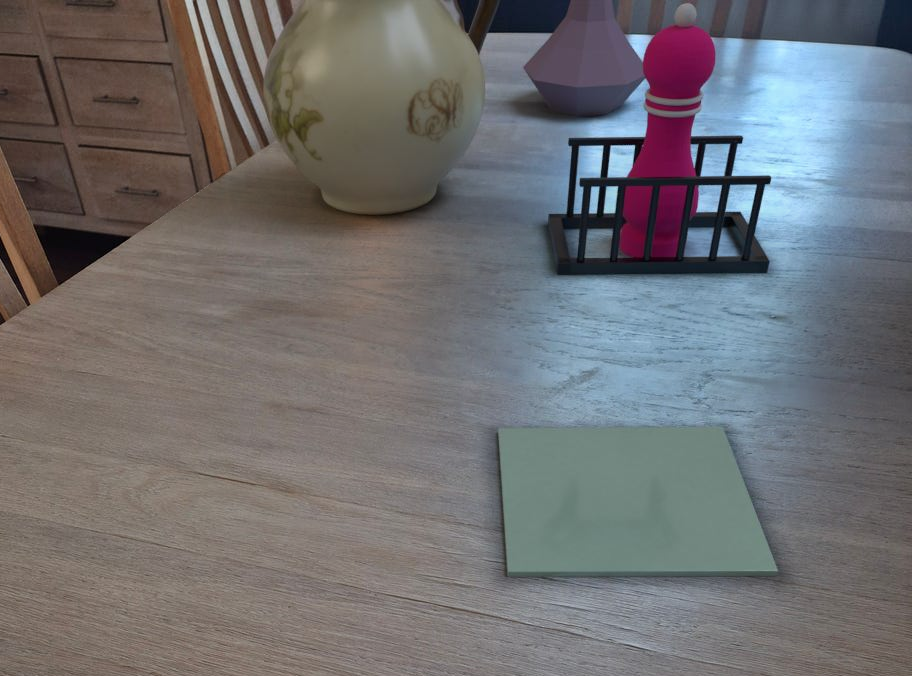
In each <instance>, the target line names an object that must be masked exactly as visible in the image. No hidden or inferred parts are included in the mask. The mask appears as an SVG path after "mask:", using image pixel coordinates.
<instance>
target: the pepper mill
mask: <svg viewBox="0 0 912 676" xmlns="http://www.w3.org/2000/svg"><path fill="white" fill-rule="evenodd" d="M697 13H698V12H697V9H696V7H695V6H694V4H692V3H689V2H685V3H682V4H680V5H679V6H678V7H677V8H676V10H675V12H674V18H673V19H674V23H675V24H672V25H669V26H667V27H664V28H663V29H660V30H659V31H657V32H656V33H655V34H654V36H652V38H651V39H650V40H649V42H648V44H647V46H646V47H645V51H644V55H643V58H642V62H643V74H644V76H645V80H646V82H647V83H648V86H649V88H647V89H646V90H645V92H644V97H645V99H644V102H643V109H644V111H645V112H647V116H646V130H645V136H644V137H645V140H644V143H643V145H642V149H641V152H640V154H639V156H638V158H637V160H636V162H635V163H634V165H633V164H632V166H633V167H632V166H631V169H630V170H629V171H628V174H627V175H626V177H686V176H696V173H695V169H694V168H695V164H694V160H693V157H692V147H691V143H690V142H691V136H692V131H693V125H694V122H695V119H696V115H697V114H698V113H700V112H701V111H702V108H703V107H702V100H703V99H704V92H703V91H702V90H701V89H702V88H703V87H704V85H705V84H706V83H707V82H708V81H709V79H710V78H711V76H712V74H713V72H714V69H715V66H716V57H717V56H716V55H717V54H716V53H717V52H716V46H715V43H714V40H713V38H712V37H711V35H710V34H709V33H708V32H707V31H706V30H705V29H703V28H701V27H700V26H697V25H696V26H695V25H694V23H695V22H696V20H697V15H698V14H697ZM652 187H653V186H626V192H625V200H624V208H623V216H624V218H625V219H626V221H627V223H626V224H625V225H624V226H623V227H622V228H621V234H620V242H619V250H620V251H621V252H622V253H624V254H625V255H627V256H629V257H643V252H644V245H645V237H646V230H647V223H648V216H649V208H650V201H651V194H652ZM686 190H687V186H661V188H660V195H659V202H658V209H657V216H656V223H655V230H654V237H653V244H652V251H651V257H676V252H677V246H678V240H679V234H680V227H681V221H682V215H683V209H684V203H685V197H686ZM699 197H700V190H699V188H698V185H696V186H695V192H694V198H693V204H692V210H691V216H690V219H691V218H692V217H693V216H694V214H695V213H696V212H698V211H697V210H698V207H699ZM688 235H689V233H688V234H687V236H688ZM687 241H688V239H687V240H686V242H687ZM686 247H687V245H686V246H685V248H686Z"/></svg>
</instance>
